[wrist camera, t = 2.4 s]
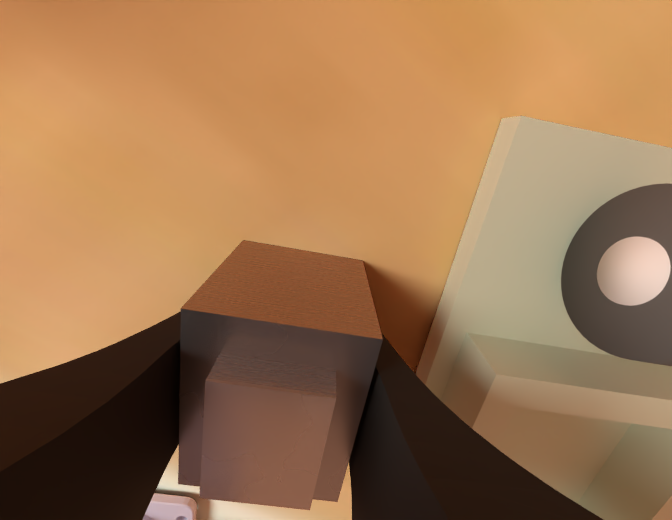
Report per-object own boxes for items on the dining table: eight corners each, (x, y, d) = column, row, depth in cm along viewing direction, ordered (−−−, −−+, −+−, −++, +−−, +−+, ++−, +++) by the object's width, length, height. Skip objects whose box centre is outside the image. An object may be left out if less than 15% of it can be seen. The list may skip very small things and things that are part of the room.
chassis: (576, 513, 15) (666, 651, 11) (375, 490, 15) (393, 628, 10) (805, 182, 10) (1151, 212, 6) (501, 118, 9) (644, 98, 5)
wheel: (595, 313, 10) (755, 417, 6) (539, 304, 10) (668, 404, 6) (664, 187, 9) (921, 222, 5) (600, 174, 8) (815, 200, 5)
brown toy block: (335, 378, 12) (338, 538, 7) (232, 363, 12) (161, 520, 7) (362, 260, 11) (389, 366, 6) (243, 240, 10) (159, 332, 5)
